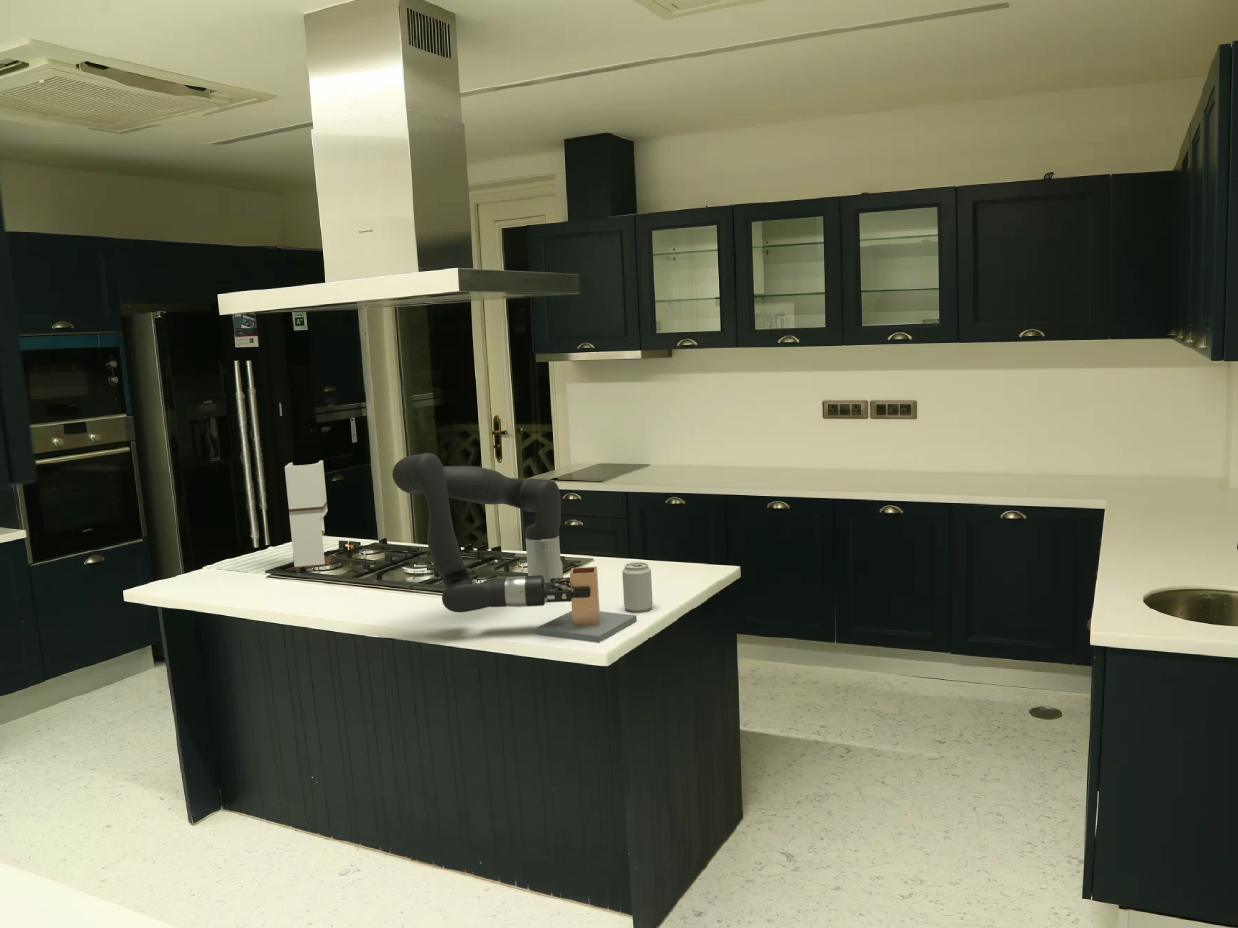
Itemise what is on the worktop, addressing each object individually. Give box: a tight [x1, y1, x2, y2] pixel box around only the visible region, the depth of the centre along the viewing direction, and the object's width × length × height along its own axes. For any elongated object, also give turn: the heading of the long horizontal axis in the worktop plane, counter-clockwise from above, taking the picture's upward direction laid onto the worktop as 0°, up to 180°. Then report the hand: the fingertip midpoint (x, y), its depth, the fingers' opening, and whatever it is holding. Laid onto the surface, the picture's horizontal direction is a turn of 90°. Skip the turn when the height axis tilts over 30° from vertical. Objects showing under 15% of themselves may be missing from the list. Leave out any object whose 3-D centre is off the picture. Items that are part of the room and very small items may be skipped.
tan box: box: [569, 566, 601, 626], centre depth 239 cm, size 6×6×13 cm
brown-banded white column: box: [284, 460, 333, 570], centre depth 322 cm, size 11×11×35 cm
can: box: [621, 561, 654, 613], centre depth 254 cm, size 8×8×12 cm
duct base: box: [535, 610, 637, 643], centre depth 240 cm, size 18×18×6 cm
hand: (590, 587), depth 239 cm, fingers open, 8 cm apart
